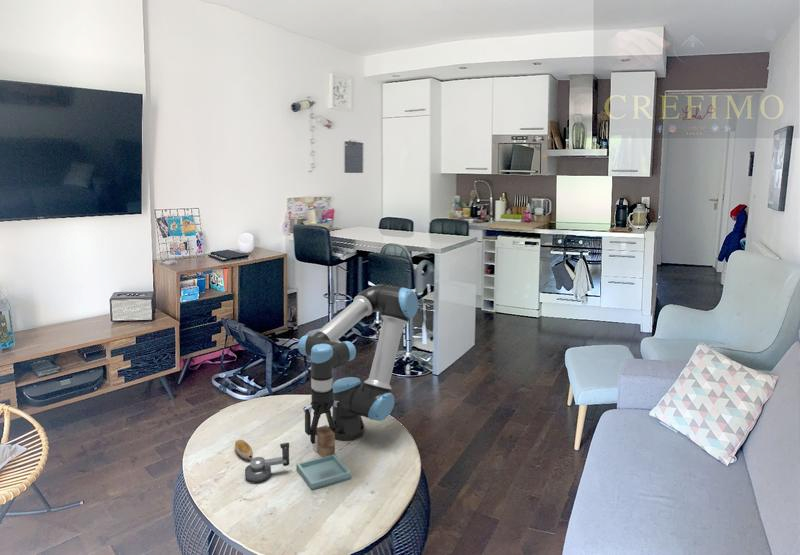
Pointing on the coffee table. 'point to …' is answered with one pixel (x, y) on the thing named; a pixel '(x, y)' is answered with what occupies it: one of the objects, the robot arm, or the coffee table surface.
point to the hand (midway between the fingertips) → (322, 448)
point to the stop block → (325, 441)
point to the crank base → (257, 475)
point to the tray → (323, 471)
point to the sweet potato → (243, 449)
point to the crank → (271, 460)
